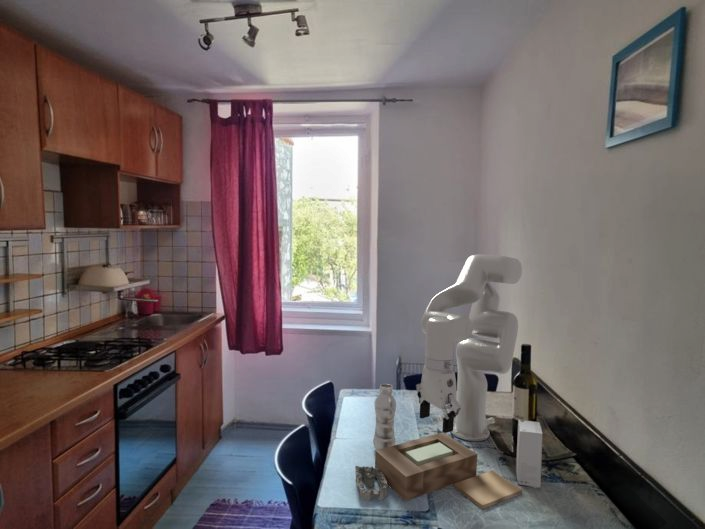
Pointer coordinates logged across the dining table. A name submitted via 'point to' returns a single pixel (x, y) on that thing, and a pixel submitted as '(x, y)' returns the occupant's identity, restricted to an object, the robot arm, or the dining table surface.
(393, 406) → the plastic bottle
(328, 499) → the dining table surface
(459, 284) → the robot arm
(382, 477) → the egg carton
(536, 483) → the skincare box
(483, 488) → the plate
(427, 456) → the slab
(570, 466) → the dining table surface
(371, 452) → the dining table surface
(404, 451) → the pocket board
